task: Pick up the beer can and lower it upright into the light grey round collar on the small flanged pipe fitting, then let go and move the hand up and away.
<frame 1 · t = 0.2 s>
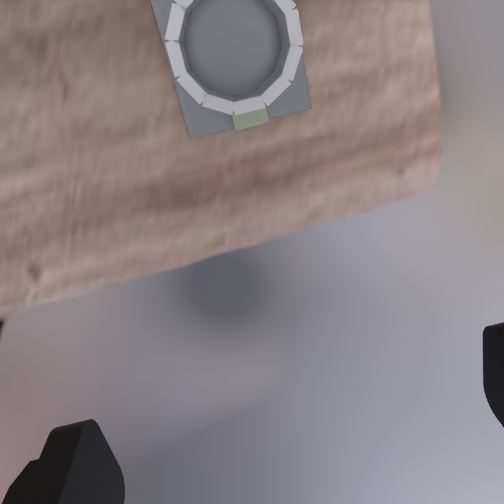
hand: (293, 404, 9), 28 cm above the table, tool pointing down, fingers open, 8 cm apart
flanged pipe fitting: (231, 44, 32), on the table
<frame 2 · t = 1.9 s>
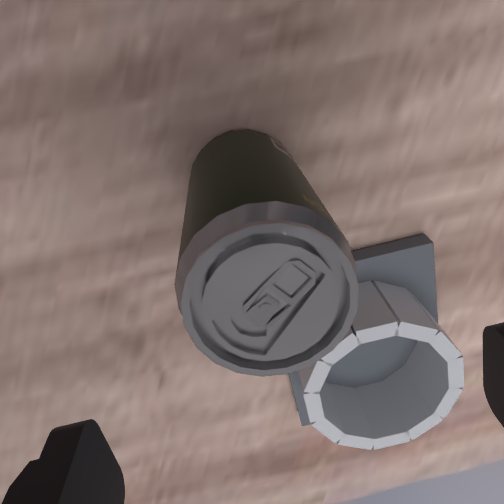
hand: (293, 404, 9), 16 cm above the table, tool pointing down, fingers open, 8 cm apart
beer can: (242, 179, 23), on the table
flanged pipe fitting: (355, 331, 28), on the table
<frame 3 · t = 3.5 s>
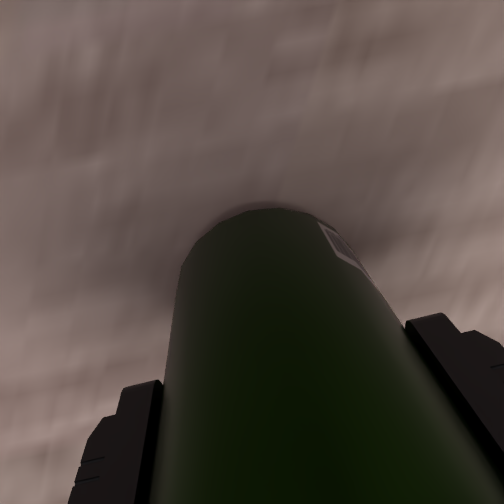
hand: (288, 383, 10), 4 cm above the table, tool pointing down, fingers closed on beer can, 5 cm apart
beer can: (265, 279, 14), on the table, touching gripper
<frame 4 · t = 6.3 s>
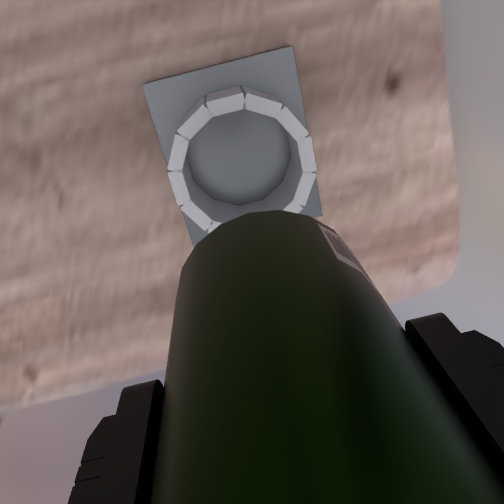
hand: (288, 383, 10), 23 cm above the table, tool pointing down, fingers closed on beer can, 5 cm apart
beer can: (266, 281, 14), point 18 cm above the table, touching gripper
flanged pipe fitting: (238, 151, 30), on the table
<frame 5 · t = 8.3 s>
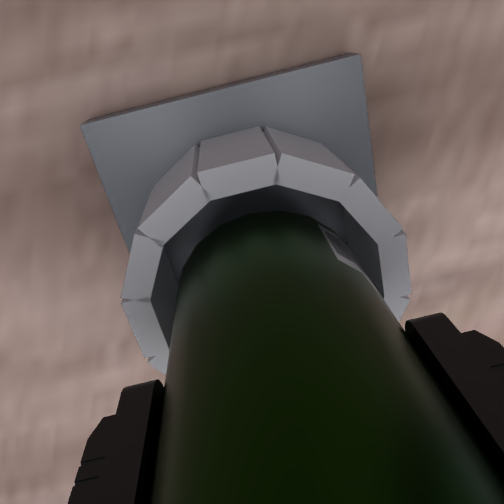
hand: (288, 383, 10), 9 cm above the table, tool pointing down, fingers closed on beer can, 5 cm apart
beer can: (266, 281, 14), point 4 cm above the table, touching gripper
flanged pipe fitting: (254, 230, 18), on the table
when the fingers open (7 cm above the table, at t = 9.5 s): beer can drops 1 cm, resting on flanged pipe fitting.
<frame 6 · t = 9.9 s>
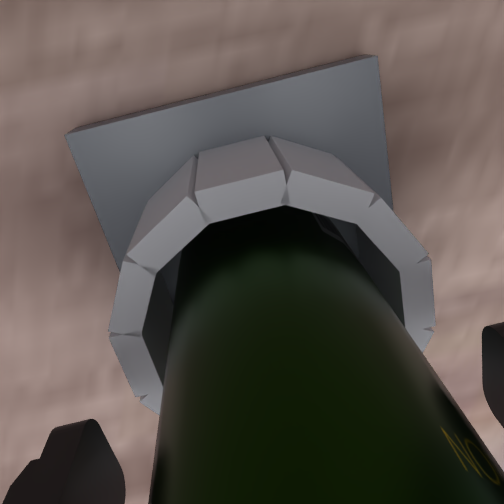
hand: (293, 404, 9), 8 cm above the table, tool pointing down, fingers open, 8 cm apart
beer can: (260, 258, 15), point 1 cm above the table, touching flanged pipe fitting
flanged pipe fitting: (258, 248, 16), on the table
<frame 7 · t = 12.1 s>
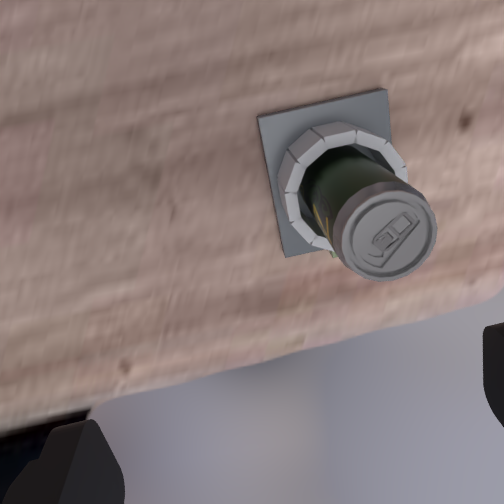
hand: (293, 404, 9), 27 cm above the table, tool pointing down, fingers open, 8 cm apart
beer can: (332, 177, 34), point 1 cm above the table, touching flanged pipe fitting
flanged pipe fitting: (329, 175, 35), on the table
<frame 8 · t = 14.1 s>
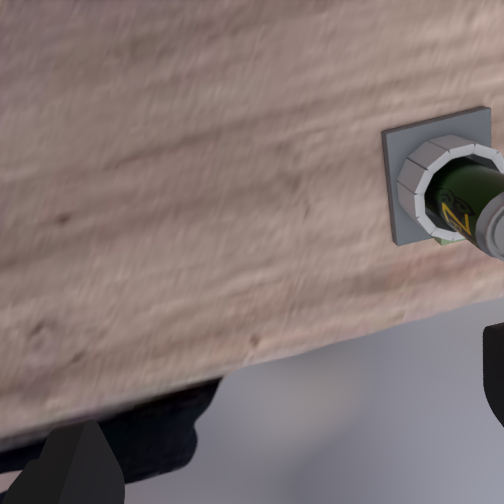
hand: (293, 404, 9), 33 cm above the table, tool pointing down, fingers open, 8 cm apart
beer can: (440, 179, 42), point 1 cm above the table, touching flanged pipe fitting
flanged pipe fitting: (435, 177, 43), on the table
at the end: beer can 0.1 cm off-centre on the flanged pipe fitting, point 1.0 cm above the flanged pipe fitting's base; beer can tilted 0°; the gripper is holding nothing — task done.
